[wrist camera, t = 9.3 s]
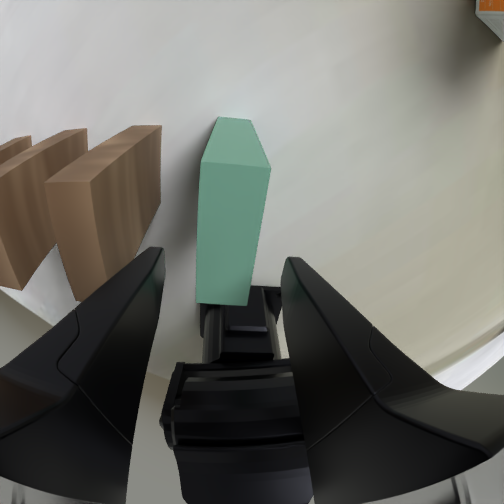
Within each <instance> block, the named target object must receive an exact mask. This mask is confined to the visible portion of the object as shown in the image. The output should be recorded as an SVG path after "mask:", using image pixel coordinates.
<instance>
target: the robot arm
mask: <svg viewBox="0 0 504 504" xmlns="http://www.w3.org/2000/svg"><path fill="white" fill-rule="evenodd" d="M164 280H165V257H164V249H163V248H162V247H149V248H148V249H146V250H145V251H144V252H142V253H141V254H140V255H139V256H137V257H136V258H135V259H133V260H132V261H131V262H130V263H128V264H127V265H126V266H125V267H123V268H122V269H121V270H120V271H118V272H117V273H116V274H115V275H114V276H112V277H111V278H110V279H109V280H107V281H106V282H105V283H104V284H103V285H101V286H100V287H99V288H98V289H97V290H95V291H94V292H93V293H92V294H91V295H90V296H88V297H87V298H86V299H85V300H84V301H83V302H81V303H80V304H79V305H78V306H77V307H76V308H75V310H72V311H71V312H70V313H69V314H68V315H67V316H66V317H64V318H63V319H62V320H61V321H60V322H59V323H57V324H56V325H55V326H54V327H53V328H52V329H50V330H49V331H48V332H47V333H45V334H44V335H43V336H42V337H41V338H39V339H38V340H37V341H35V342H34V343H33V344H31V345H30V346H29V347H28V348H26V349H25V350H24V351H23V352H21V353H20V354H19V355H18V356H17V357H15V358H14V359H13V360H12V361H10V362H9V363H8V364H6V365H5V366H3V367H1V368H0V504H125V503H126V493H127V482H128V474H129V466H130V459H131V452H132V444H133V438H134V432H135V426H136V420H137V414H138V408H139V403H140V398H141V394H142V389H143V383H144V379H145V374H146V370H147V366H148V361H149V357H150V353H151V348H152V344H153V340H154V336H155V332H156V328H157V324H158V320H159V314H160V307H161V300H162V293H163V286H164ZM277 293H280V294H277ZM281 308H282V310H283V324H284V331H285V337H286V342H287V347H288V352H289V357H290V358H285V359H281V353H280V347H279V340H278V334H277V328H276V324H277V321H278V318H279V314H280V311H281ZM372 326H373V325H372V324H371V323H370V322H369V321H368V320H367V319H366V318H365V317H364V316H363V315H362V314H361V313H360V312H359V311H358V310H357V309H356V308H355V307H353V306H352V305H351V304H350V303H349V302H348V301H347V300H346V299H345V298H344V297H343V296H342V295H341V294H340V293H339V292H337V291H336V290H335V289H334V288H333V287H332V286H331V285H330V284H329V283H328V282H327V281H326V280H325V279H323V278H322V277H321V276H320V275H319V274H318V273H317V272H316V271H315V270H314V269H313V268H311V267H310V266H309V265H308V264H307V263H306V262H305V261H304V260H303V259H301V258H300V257H287V259H286V261H285V265H284V268H283V272H282V276H281V287H267V286H250V291H249V296H248V302H247V306H239V305H222V304H207V303H200V335H201V337H202V338H204V340H203V357H202V363H185V362H177V363H176V366H175V370H174V372H173V373H172V377H171V380H170V384H169V387H168V391H167V394H166V398H165V402H164V405H163V409H162V413H161V417H160V420H159V423H160V426H161V427H162V428H163V430H164V435H165V439H166V442H167V444H168V447H169V448H170V449H171V450H173V451H174V455H175V458H176V461H177V465H178V470H179V475H180V482H181V490H182V496H183V499H184V500H185V501H186V503H187V504H308V503H309V502H310V500H311V498H312V497H313V495H314V501H315V504H504V395H497V394H486V393H477V392H468V391H461V390H455V389H451V388H449V387H446V386H444V385H443V384H441V383H439V382H438V381H437V380H435V379H434V378H433V377H432V376H431V375H429V374H428V373H427V372H426V371H425V370H423V369H422V368H421V367H420V366H419V365H417V364H416V363H415V362H414V361H412V360H411V359H410V358H409V357H408V356H406V355H405V354H404V353H403V352H402V351H401V350H399V349H398V348H397V347H396V346H395V345H394V344H393V343H392V342H390V341H389V340H388V339H387V338H386V337H385V336H384V335H383V334H382V333H381V332H380V331H379V330H378V329H377V328H376V327H375V326H373V327H372Z"/></svg>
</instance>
